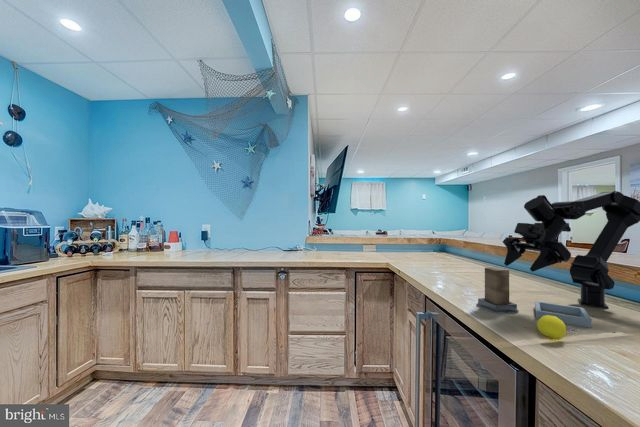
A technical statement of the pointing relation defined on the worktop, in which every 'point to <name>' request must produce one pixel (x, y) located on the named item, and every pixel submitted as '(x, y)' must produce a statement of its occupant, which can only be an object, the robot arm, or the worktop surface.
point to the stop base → (497, 307)
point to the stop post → (497, 285)
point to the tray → (569, 319)
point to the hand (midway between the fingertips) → (517, 267)
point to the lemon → (551, 327)
